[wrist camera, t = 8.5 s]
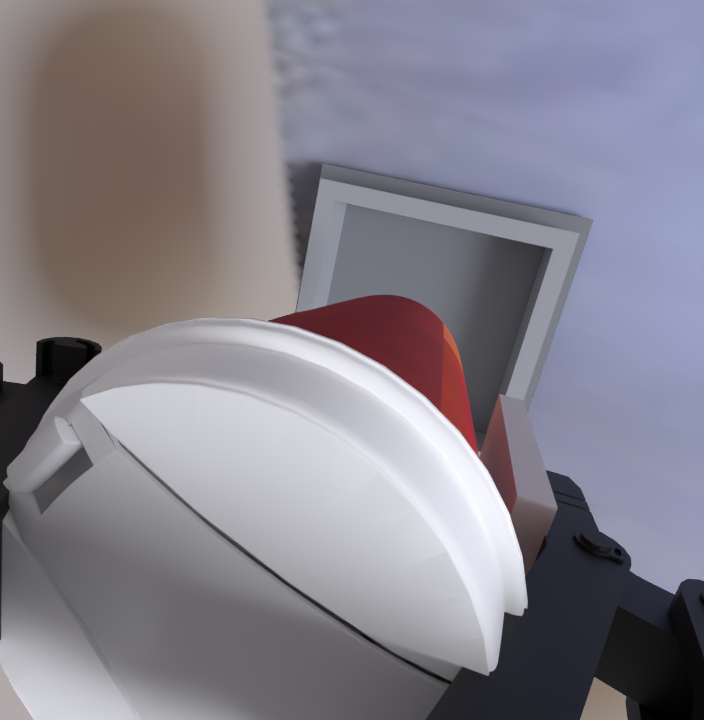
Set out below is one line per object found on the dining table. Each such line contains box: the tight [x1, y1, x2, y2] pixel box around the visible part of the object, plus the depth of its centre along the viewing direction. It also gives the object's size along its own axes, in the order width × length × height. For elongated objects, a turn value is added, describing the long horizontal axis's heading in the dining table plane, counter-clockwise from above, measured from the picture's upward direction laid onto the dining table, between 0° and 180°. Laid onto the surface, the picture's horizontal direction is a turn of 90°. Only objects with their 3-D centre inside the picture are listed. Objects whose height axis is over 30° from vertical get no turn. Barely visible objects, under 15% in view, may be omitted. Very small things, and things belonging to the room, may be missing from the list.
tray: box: [295, 163, 593, 456], centre depth 30 cm, size 16×16×4 cm
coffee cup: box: [0, 295, 528, 720], centre depth 13 cm, size 8×8×15 cm
